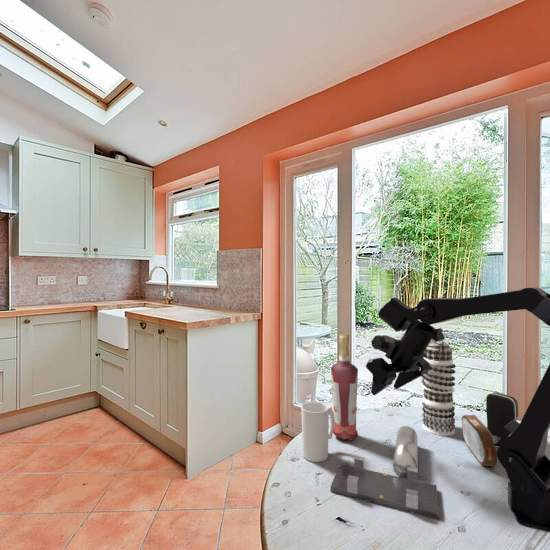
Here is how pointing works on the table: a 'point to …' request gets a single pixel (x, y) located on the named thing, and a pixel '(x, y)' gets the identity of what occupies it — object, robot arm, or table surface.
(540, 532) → the table surface
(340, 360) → the liquor
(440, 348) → the decorative candle
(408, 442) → the tube
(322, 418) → the mug
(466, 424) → the tin
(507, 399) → the battery charger
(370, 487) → the cradle
